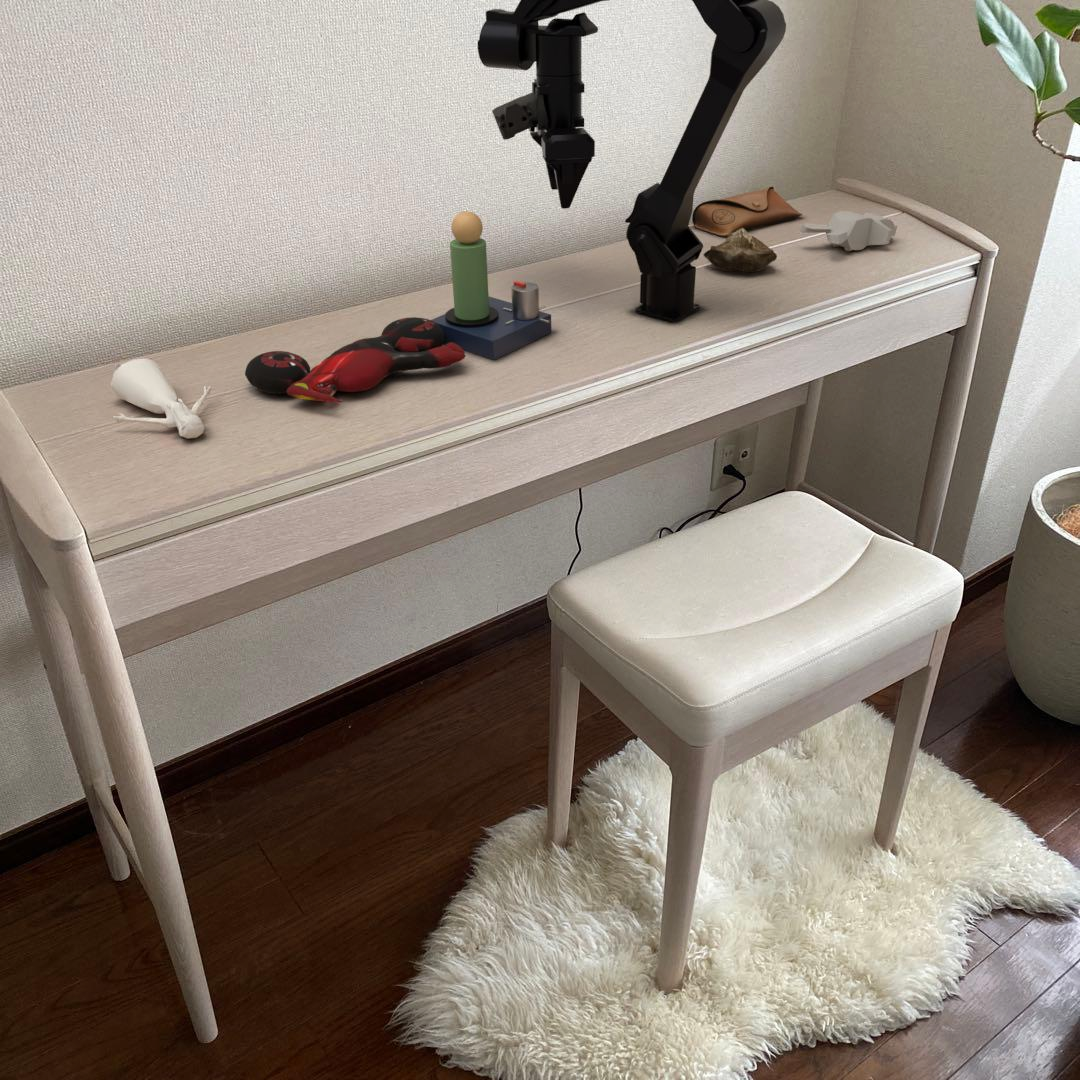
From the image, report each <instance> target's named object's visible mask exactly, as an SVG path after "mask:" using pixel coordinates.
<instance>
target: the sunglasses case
mask: <svg viewBox="0 0 1080 1080" xmlns="http://www.w3.org/2000/svg"><path fill="white" fill-rule="evenodd" d="M800 216H803V214H802V213H800V212H799V211H797V210H796V208H794V207H793V206H792V205H791V204H790V203H788V201H786V199H785V198H783V197H782V196H781V195H780V194H779V193H778V192H777V191H775V190H774V186H768V187H767V188H763V189H761V190H756V191H751V192H750V191H749V192H746V193H741V194H736V195H733V196H728V197H725V198H720V199H710V200H706V201H704V202H703V201H702V202H701V203H699V204H698V205H697V206H696V207H694V209H693V210H692V215H691V220H692V225H693V226H694V228H695V229H698V230H701V231H703V232H705V233H707V234H712V235H716V236H722V237H728V235H729V234H730V233H734V232H736V231H737V230H738V229H740V228H744V229H745V230H746V231H749V230H755V229H757V228H758V229H759V228H762V227H767V226H772V225H777V224H780V223H783V222H786V221H789V220H790V221H791V220H792V219H795V218H798V217H800Z"/></svg>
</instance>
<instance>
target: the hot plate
mask: <svg viewBox="0 0 1080 1080" xmlns="http://www.w3.org/2000/svg"><path fill="white" fill-rule="evenodd" d="M489 306H490V307H493V308H495V309H496V310H497V311H498V313H499V318H498V320H497V321H495V322H494V323H492V324H490V325H486V326H482V327H475V328H464V327H457V326H453V325H451V324H449V323H447V322H446V320H445V314H446V313H445V314H444V313H443V314H441V315H439V316H437V317H434V318H432V319H430V320H431V321H434V322H435V323H437V324H438V325H439V326H440V327H441V328H442V330H443V334H444V342H443V344H445V345H446V344H447V343H449V342H453V343H455V344H457V345H458V346H459V347H461V348H462V349H463V350H464V352H468V353H471V354H475V355H478V356H479V357H483V358H486V359H489V360H491V361H495V360H497V359H499V358H502V357H504V356H506V355H508V354H511V353H512V352H514V351H517V350H518V349H521V348H523V347H525V346H527V345H529V344H532V343H533V342H535V341H537V340H539V339H542V338H544V337H546V336H548V335H550V334H552V314H551V313H549V312H548V313H547V312H544V311H541V310H544V309H545V308H547V306H546V305H542V306H539V316H538V317H537V318H535V319H531V320H519V319H516V318H514V317H513V315H512V302H510V301H506V300H503V299H500V298H496V297H493V296H489Z"/></svg>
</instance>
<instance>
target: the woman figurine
mask: <svg viewBox="0 0 1080 1080" xmlns="http://www.w3.org/2000/svg"><path fill="white" fill-rule="evenodd" d="M206 387H207V386H206V385H204V387H203V392H204V394H202V396H201V397H200V399H198V400H197V401H196V402H194V404H193V406H192V407H191V408H189V407H187V405H186V404H185V403H184V401H183V399H181V398H179V397H178V396H177V393H176V391H175V389H174V387H173V386H172V384H171V383H170V381H169V379H168V377H167V375H166V373H165V372H164V370H163V369H162V368H161V367H160V366H159V365H158V364H157V363H156V361H155V360H153V359H148V358H142V357H141V358H136V357H135V358H133V359H131V360H129V361H127V362H124V363H122V364H121V365H120V363H119V362H117V363H115V365H114V371H113V374H112V378H111V383H110V388H111V390H112V391H113V393H114V394H115V396H116V397H117V398H119V399H121V400H123V401H125V402H128V403H130V404H132V405H134V406H136V407H138V408H141V409H143V410H146V411H148V412H151V413H153V414H165V416H166V418H158V417H127V416H126V415H125V414H123V413H120V412H118V413H117V414H118V415H119V416H118V415H117V416H115V415H112V416H111V417H112V418H111V420H113V421H114V422H115V421H116V422H118V423H140V424H152V425H159V426H165V427H166V428H168V429H170V428H177V430H178V435H179V437H183V438H185V439H187V440H188V439H189V440H190V439H197V438H199V436H201V435H203V433H204V432H205V425H204V423H203V421H202V419H201V418H200V417H199V416H198V414H197V413H198V411H199V410H200V407H202V406H203V404H204V402H205V400H206V399H207V397H208V396H209V395H210V394H211V391H212V387H211V385H209V386H208V387H207V388H206Z"/></svg>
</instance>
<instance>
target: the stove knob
mask: <svg viewBox="0 0 1080 1080" xmlns="http://www.w3.org/2000/svg"><path fill="white" fill-rule="evenodd" d="M539 291H540V290H539V284H537V283H535V282H531V281H518V280H515V281H513V284H512V285H511V303H512V315H513V317H514V318H516V319H519V320H531V319H535V318H537V317H538V316H539V311H540V310H539V308H540V293H539Z"/></svg>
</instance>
